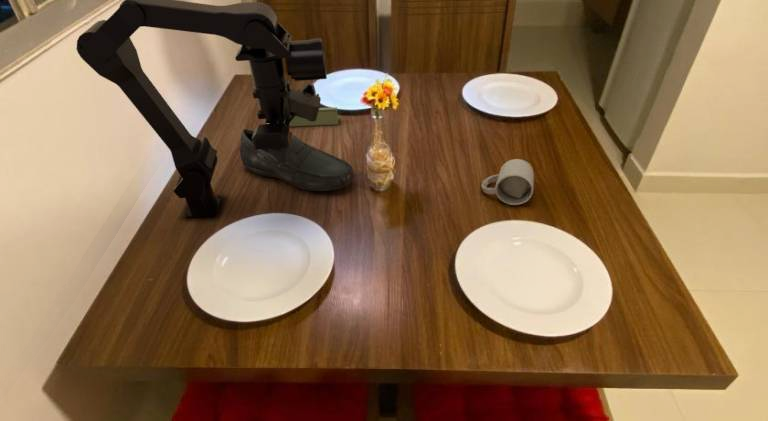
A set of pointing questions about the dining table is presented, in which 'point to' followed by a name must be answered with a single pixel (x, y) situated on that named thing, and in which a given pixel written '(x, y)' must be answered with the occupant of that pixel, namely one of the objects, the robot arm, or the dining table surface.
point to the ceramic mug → (512, 182)
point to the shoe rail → (318, 118)
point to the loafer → (297, 165)
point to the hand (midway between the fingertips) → (284, 154)
